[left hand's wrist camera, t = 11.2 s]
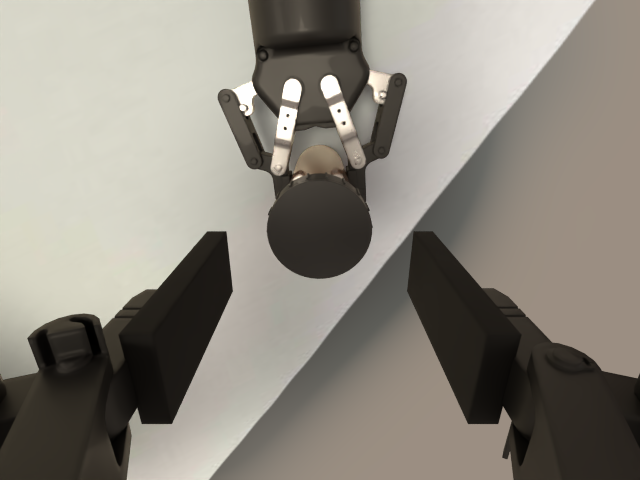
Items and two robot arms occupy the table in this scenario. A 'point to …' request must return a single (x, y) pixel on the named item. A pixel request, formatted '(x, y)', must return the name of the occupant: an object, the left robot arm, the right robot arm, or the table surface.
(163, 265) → the table surface
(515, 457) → the left robot arm
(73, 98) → the table surface
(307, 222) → the lid
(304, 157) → the bottle
